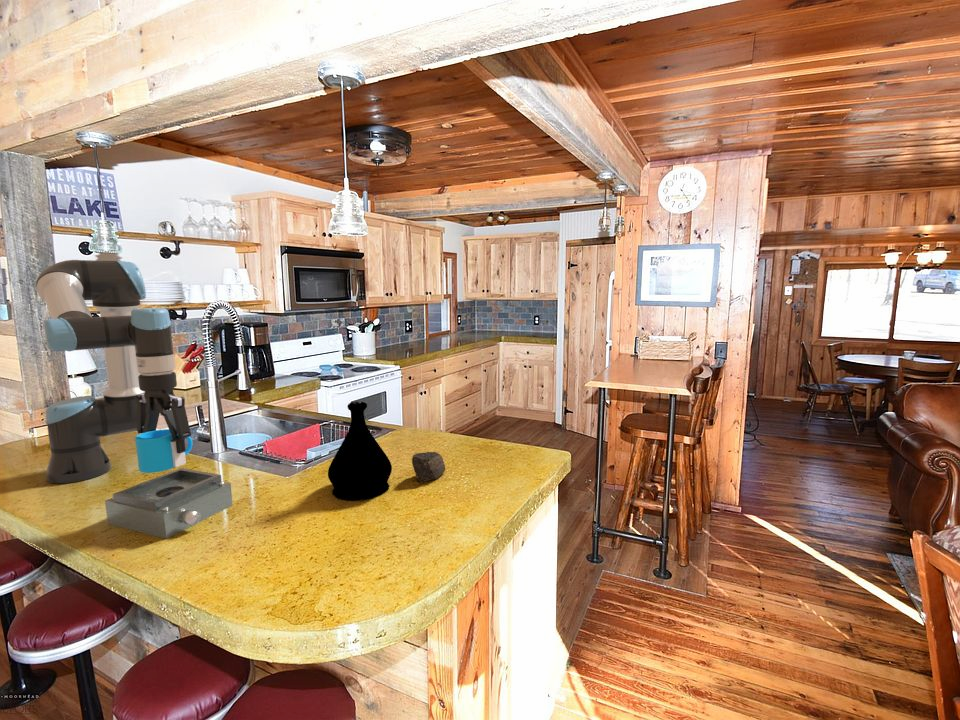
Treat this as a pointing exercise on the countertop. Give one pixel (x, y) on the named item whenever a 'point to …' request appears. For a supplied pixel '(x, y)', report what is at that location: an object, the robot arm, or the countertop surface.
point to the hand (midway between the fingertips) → (167, 463)
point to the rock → (428, 466)
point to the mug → (156, 451)
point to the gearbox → (169, 502)
